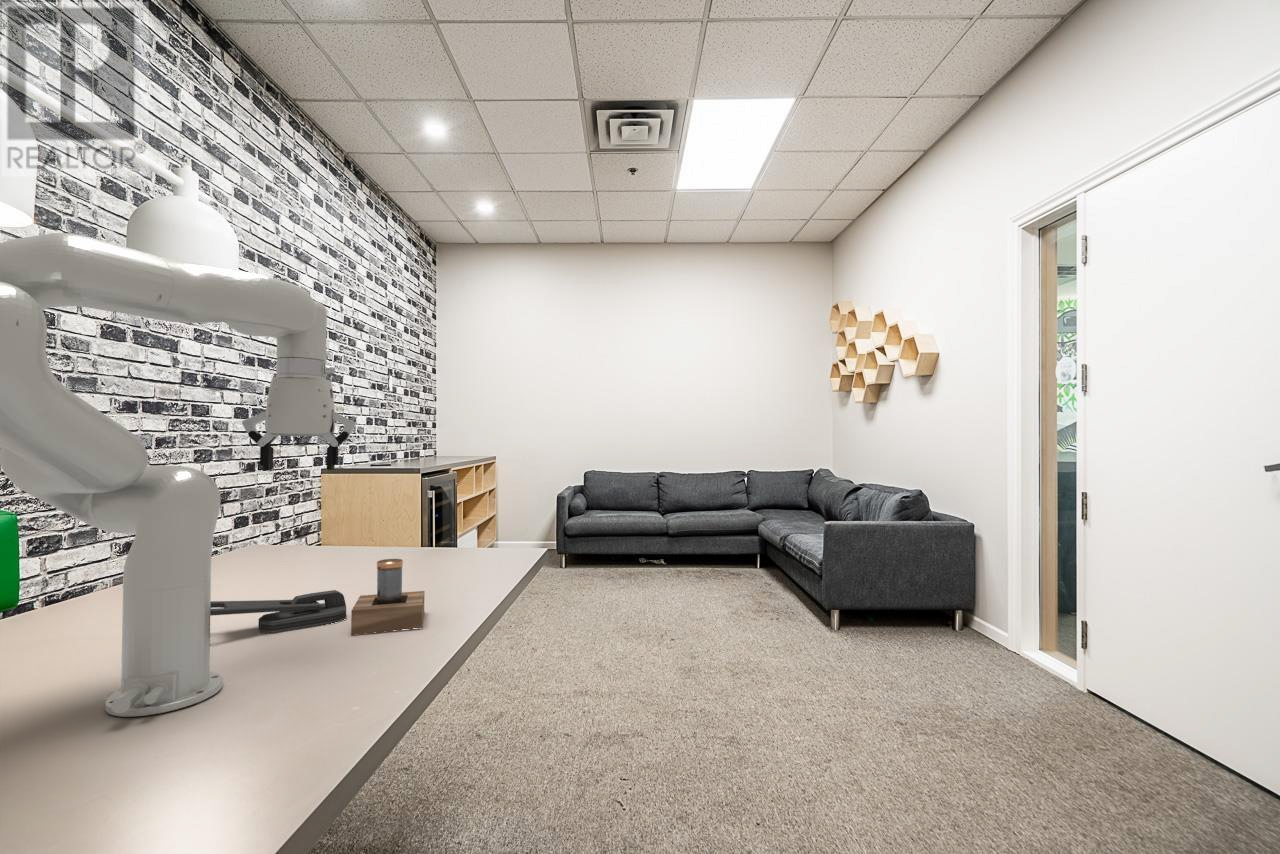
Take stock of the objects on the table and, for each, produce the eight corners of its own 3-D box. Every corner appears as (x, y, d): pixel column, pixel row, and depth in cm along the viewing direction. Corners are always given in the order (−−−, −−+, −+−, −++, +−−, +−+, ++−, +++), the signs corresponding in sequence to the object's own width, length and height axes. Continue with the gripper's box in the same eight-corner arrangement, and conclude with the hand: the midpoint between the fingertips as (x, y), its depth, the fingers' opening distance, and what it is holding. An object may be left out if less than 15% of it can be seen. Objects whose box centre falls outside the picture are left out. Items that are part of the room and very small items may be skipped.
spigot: (401, 626, 114) (401, 562, 114) (375, 628, 112) (375, 564, 113) (403, 619, 118) (403, 558, 118) (377, 621, 117) (378, 559, 117)
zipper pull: (188, 601, 107) (338, 579, 124) (187, 638, 107) (337, 611, 124) (194, 611, 101) (352, 586, 118) (194, 651, 101) (352, 620, 118)
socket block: (421, 629, 112) (422, 604, 112) (351, 635, 108) (351, 610, 108) (424, 613, 122) (424, 590, 122) (359, 618, 119) (360, 595, 119)
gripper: (359, 375, 110) (357, 468, 110) (251, 372, 105) (249, 469, 105) (352, 370, 103) (351, 470, 103) (236, 366, 98) (234, 471, 97)
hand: (299, 469), depth 104 cm, fingers open, 9 cm apart
